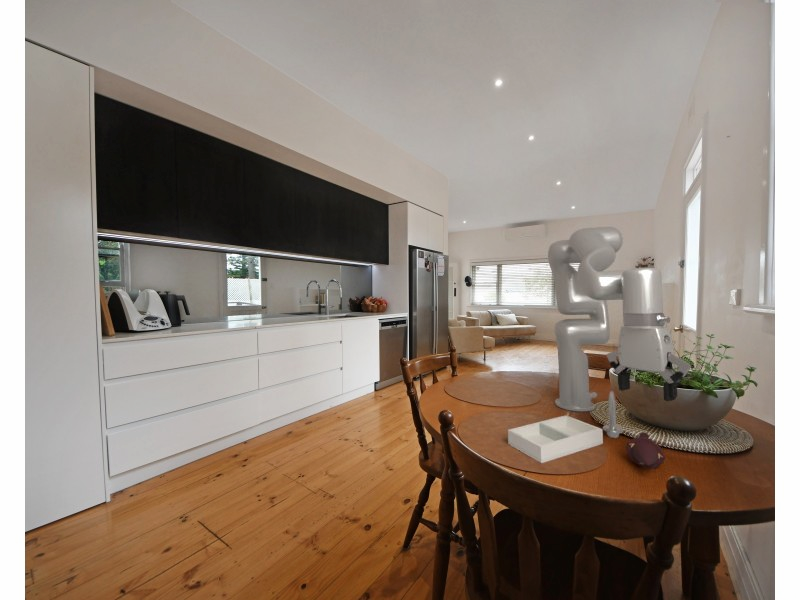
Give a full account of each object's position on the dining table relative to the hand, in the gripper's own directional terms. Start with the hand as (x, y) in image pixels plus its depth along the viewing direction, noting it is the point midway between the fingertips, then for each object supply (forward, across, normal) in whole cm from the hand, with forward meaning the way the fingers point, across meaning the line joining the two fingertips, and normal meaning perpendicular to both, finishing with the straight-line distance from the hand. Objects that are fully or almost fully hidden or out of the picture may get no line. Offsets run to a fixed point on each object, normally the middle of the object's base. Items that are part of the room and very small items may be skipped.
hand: (645, 394), depth 75 cm
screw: (+17, +15, -9) cm, 24 cm away
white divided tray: (+17, +19, +9) cm, 27 cm away
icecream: (+18, +1, -1) cm, 18 cm away
